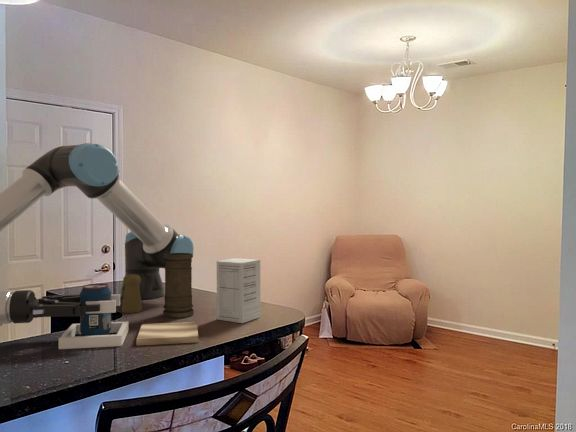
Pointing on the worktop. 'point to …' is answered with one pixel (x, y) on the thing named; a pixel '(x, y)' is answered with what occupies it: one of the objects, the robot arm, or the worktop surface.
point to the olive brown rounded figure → (132, 294)
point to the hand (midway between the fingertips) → (117, 303)
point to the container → (178, 285)
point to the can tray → (93, 337)
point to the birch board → (167, 333)
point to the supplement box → (238, 290)
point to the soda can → (95, 321)
